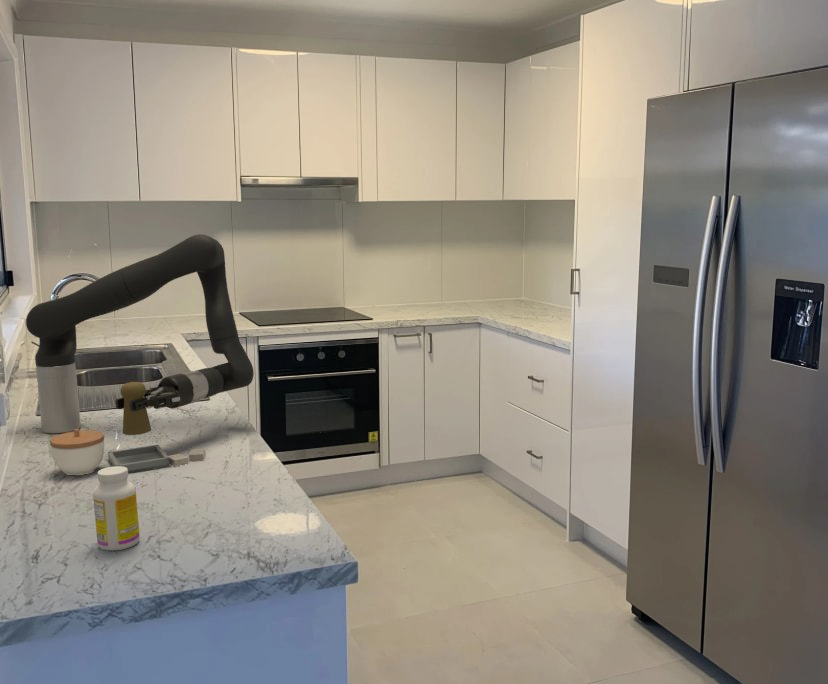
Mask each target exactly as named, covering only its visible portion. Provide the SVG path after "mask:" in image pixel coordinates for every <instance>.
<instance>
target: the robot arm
mask: <svg viewBox="0 0 828 684" xmlns="http://www.w3.org/2000/svg"><path fill="white" fill-rule="evenodd" d="M194 273H196V274H197V276H198V278H199V281H200V283H201V287H202V290H203V295H204V306H205V308H204V310H205V321H206V322H205V324H206V328H207V332H208V333H207V334H208V335H209V336H208V337H209V342H210V345H211V348H212V351H213V352H214V354H216V355H224V357H225V359H226V361H227V362H225V363H221V364H218V365H214V366H211V367H206V368H201V369H196V370H191V371H184V372H180V373H176V374H173V375H168V376H166V377H163V378H162V379H161V380H160V381H159V382H158V383H159V384H158V385H155V386H150V387H149V388H146V393H145V395H144V398H141V399H137V400H133V401H130V410H131V411H137V410H141V409H144V408H146V409H154V410H155V409H156V410H158V409H162V408H168V409H176V408H180V407H183V406H188V405H190V404H191V405H192V404H195V403H196V402H199V401H201V400H203V399H206V398H210V397H213V396H216V395H218V394H220V393H225V392H229V391H233V390H237V389H241V388H246V387H248V386H249V385H250V384H252V383H253V379H254V374H255V373H254V366H253V365H252V364H253V363H252V361H251V360H250V358H249V356H248V354H247V352H246V350H245V349H244V346H243V345H242V343H241V341H240V337H239V333H238V328H237V323H236V320H235V317H234V312H233V309H232V303H231V300H230V295H229V290H228V282H227V272H226V259H225V249H224V247H223V246H222V244H221V243H220V242H219V240H217V239H215V238H213V237H212V236H209V235H206V234H194V235H191V236H189V237H187V238H185V239H184V240H182V241H180V242H179V243H177V244H175V245H174V246H171V247H170V248H168V249H166V250H164V251H163V252H160V253H158V254H157V255H153V256H150V257H148V258H145V259H142V260H139V261H137V262H134V263H132V264H128V265H127V266H124V267H121V268H119V269H117V270H115V271H112V272H110V273H108V274H106V275H104V276H102V277H100V278H98V279H96V280H95V281H92V282H91V283H88V284H87V285H85V286H84V287H82V288H80V289H79V290H77V291H75V292H72V293H70V294H68V295H65V296H62V297H58V298H55V299H53V300H48V301H45V302H40V303H38V304H35V305H34V306H33V307H32V308H31V309H30V311H29V312H28V314H27V316H26V319H25V326H26V329H27V330H28V332H29V333H30V334H31V335H32V336H34V337H36V338H39V345H38V349H37V351H36V353H35V356H34V359H35V370H36V378H37V389H38V390H37V391H38V393H37V394H38V401H39V411H40V424H41V431H42V432H43V433H45V434H63V433H68V432H74V430H75V429H79V430H80V428H81V416H80V415H81V414H80V404H79V403H80V402H79V391H78V379H77V366H76V353H77V329H76V328H77V327H76V326H77V325H79V324H81V323H82V322H85V321H87V320H89V319H92V318H96V317H100V316H103V315H104V316H105V315H107V314H111V313H113V312H116V311H120V310H122V309H125V308H127V307H130V306H133V305H134V304H136V303H139V302H141V301H143V300H145V299H148V298H149V297H150V296H152V295H154V294H155V293H156V292H158V291H159V290H161V288H163V287H164V286H165V285H167V284H168V283H171V282H172V281H174V280H177V279H179V278H182V277H184V276H188V275H191V274H194ZM115 408H116V409H117V410H121V409H124V398H123V397H120V398H116V399H115Z"/></svg>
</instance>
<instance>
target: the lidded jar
mask: <svg viewBox="0 0 828 684" xmlns="http://www.w3.org/2000/svg"><path fill="white" fill-rule="evenodd" d="M49 444H50V451H51V455H52V459H53V462H54V464H55V465H56V467H57V468H58V469H59V470H60V471H62V472H63V473H64V475H65V474H68V475H82V476H85V475H84V474H87V475H89V473H90V474H92V473H94V472H95V471H96V470H97V468H98V466H99V465H100V464H101V463H102V461H103V458H104V453H105V434H104V433H103V432H102V431H98V430H89V429H88V430H80V428H79V429H75V430H74V431H70V432H64V433H59V434H57V435H55V436H53V437H51V439H50V440H49Z"/></svg>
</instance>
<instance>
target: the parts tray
mask: <svg viewBox="0 0 828 684" xmlns="http://www.w3.org/2000/svg"><path fill="white" fill-rule="evenodd" d="M168 456H169V455H168V454H167V453H166V452H165V451H164V449H163V448H162V447H161V446H160V445H159V444H154V445H153V444H152V445H145V446H140V447H139V446H138V447H133V448H125V449H120V450H113V451H112V450H111V451H108V452H107V458H108V462H109V464H110V467H115V466H122V467H126V468H127V469H128V475H130V474H134V473H140V472H146V471H151V470H152V471H154V470H160V469H165V468H169V467H170V468H171V464H170V458H169V457H168Z"/></svg>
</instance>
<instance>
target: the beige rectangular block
mask: <svg viewBox="0 0 828 684" xmlns="http://www.w3.org/2000/svg"><path fill="white" fill-rule="evenodd" d="M205 457H206V449H205V448H201V449H199V448H196V449H191V451H190V452H189V454H188V462H202V461H203V462H204V460H205Z"/></svg>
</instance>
